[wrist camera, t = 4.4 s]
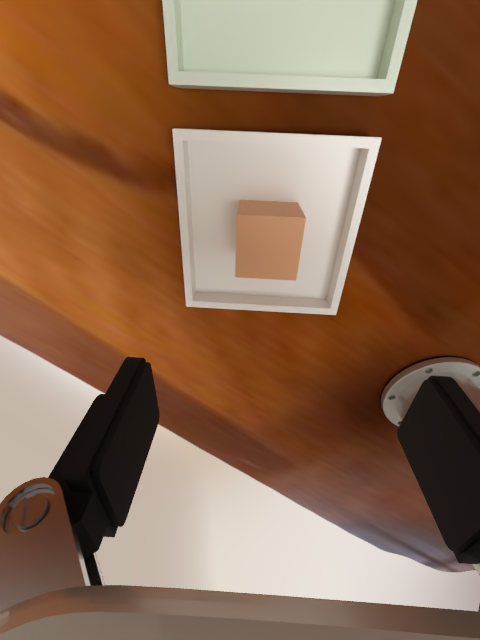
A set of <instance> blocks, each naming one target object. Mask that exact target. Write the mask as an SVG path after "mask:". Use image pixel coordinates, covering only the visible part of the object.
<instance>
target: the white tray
mask: <svg viewBox="0 0 480 640" xmlns="http://www.w3.org/2000/svg"><path fill="white" fill-rule="evenodd" d="M172 132H173V145H174V157H175V170H176V183H177V196H178V209H179V222H180V235H181V248H182V261H183V273H184V286H185V299H186V307H201V308H219V309H237V310H254V311H272V312H290V313H307V314H325V315H336V313H337V309H338V306H339V302H340V298H341V294H342V290H343V286H344V282H345V278H346V275H347V271H348V267H349V263H350V259H351V255H352V251H353V247H354V244H355V240H356V236H357V232H358V228H359V224H360V220H361V217H362V213H363V209H364V205H365V201H366V197H367V193H368V189H369V186H370V182H371V178H372V174H373V170H374V166H375V162H376V159H377V155H378V151H379V147H380V143H381V139H382V138H380V137H369V136H346V135H323V134H300V133H277V132H254V131H231V130H208V129H185V128H175V129H172ZM240 200H256V201H277V202H297V203H299V205H300V207H301V209H302V211H303V213H304V215H305V217H306V221H305V228H304V234H303V240H302V247H301V253H300V259H299V266H298V272H297V279H296V281H295V280H276V279H258V278H239V277H235V261H236V226H237V211H238V207H239V203H240Z"/></svg>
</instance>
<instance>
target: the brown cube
mask: <svg viewBox="0 0 480 640" xmlns="http://www.w3.org/2000/svg"><path fill="white" fill-rule="evenodd" d="M305 221H306V217H305V215H304V213H303V211H302V209H301V207H300V205H299V203H297V202H277V201H256V200H240V203H239V207H238V211H237V226H236V261H235V277H239V278H258V279H276V280H295V281H296V279H297V272H298V266H299V259H300V253H301V247H302V240H303V234H304V228H305Z"/></svg>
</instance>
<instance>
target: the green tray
mask: <svg viewBox="0 0 480 640" xmlns="http://www.w3.org/2000/svg"><path fill="white" fill-rule="evenodd" d="M162 3H163V16H164V29H165V41H166V54H167V67H168V80H169V85H171V86H173V87H176V88H184V89H208V90H233V91H258V92H283V93H308V94H332V95H357V96H384V95H388V94H393V93H394V89H395V85H396V81H397V77H398V73H399V70H400V66H401V62H402V58H403V54H404V50H405V46H406V43H407V39H408V35H409V31H410V27H411V23H412V19H413V15H414V12H415V8H416V4H417V0H162Z"/></svg>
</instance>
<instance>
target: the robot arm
mask: <svg viewBox="0 0 480 640" xmlns="http://www.w3.org/2000/svg"><path fill="white" fill-rule="evenodd" d="M381 406H382V409H383V411H384V414H385V415H386V417H387V418H388V419H389V420H390V421H391V422H392V423H393V424H395V425H397V426H399V428H398V432H397V433H398V439H399V441H400V443H401V446H402V448H403V450H404V452H405V454H406V457H407V459H408V461H409V463H410V466H411V468H412V470H413V472H414V474H415V477H416V479H417V481H418V483H419V486H420V488H421V490H422V492H423V494H424V497H425V499H426V501H427V503H428V506H429V508H430V510H431V512H432V515H433V517H434V519H435V521H436V523H437V526H438V528H439V530H440V532H441V535H442V537H443V539H444V541H445V543H446V545H447V546H448V548H449V549H450V550H452V551H454V554H455V556H456V558H457V560H458V562H459V563H467V564H473V566H474V568H475V569H476V571H477V572H478V573H479V575H480V366H479V365H478V364H477V363H475V362H472V361H470V360H467V359H463V358H454V357H445V358H435V359H431V360H426V361H423V362H420V363H417V364H415V365H413V366H411V367H408V368H406V369H405V370H403V371H402V372H400V373H399V374H397V375H396V376H395V377H394V378H393V379H392V380H391V381H390V382H389V383H388V384H387V386H386V387H385V389H384V391H383V393H382V397H381ZM158 422H159V408H158V402H157V397H156V391H155V386H154V380H153V374H152V369H151V364H150V363H148V362H146V360H145V359H144V358H136V357H127V358H126V359H125V360H124V362H123V364H122V365H121V367H120V369H119V371H118V372H117V374H116V376H115V378H114V380H113V381H112V383H111V385H110V387H109V388H108V390H107V392H106V394H100V395H99V396H97V397H96V399H95V400H94V401H93V403H92V405H91V407H90V408H89V410H88V412H87V413H86V415H85V417H84V419H83V420H82V422H81V423H80V425H79V427H78V428H77V430H76V432H75V434H74V435H73V437H72V439H71V440H70V442H69V444H68V445H67V447H66V449H65V450H64V452H63V454H62V456H61V457H60V459H59V461H58V462H57V464H56V465H55V467H54V469H53V470H52V472H51V474H50V476H49V477H48V478H45V477H43V478H36V479H33V480H30V481H28V482H25V483H23V484H22V485H20V486H19V487H17V488H16V489H14V490H13V491H12V492H11V493H10V494H9V495H7V496H6V497H5V498H4V500H3V501H2V502H1V504H0V640H480V605H479V611H478V612H475V611H464V610H452V609H439V608H427V607H415V606H403V605H391V604H378V603H366V602H353V601H340V600H328V599H327V600H326V599H314V598H302V597H289V596H276V595H263V594H248V593H235V592H220V591H208V590H207V591H206V590H194V589H180V588H160V587H142V586H121V585H105V583H104V579H103V576H102V572H101V570H100V566H99V562H98V559H97V555H96V551H97V550H98V549H99V547H100V544H101V542H102V539H103V536H106V537H115V534H116V531H117V528H118V526H123V525H124V523H125V520H126V518H127V515H128V512H129V509H130V506H131V503H132V500H133V497H134V494H135V491H136V488H137V485H138V482H139V479H140V476H141V473H142V470H143V467H144V464H145V461H146V458H147V455H148V452H149V449H150V446H151V443H152V440H153V437H154V434H155V431H156V428H157V425H158Z"/></svg>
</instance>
